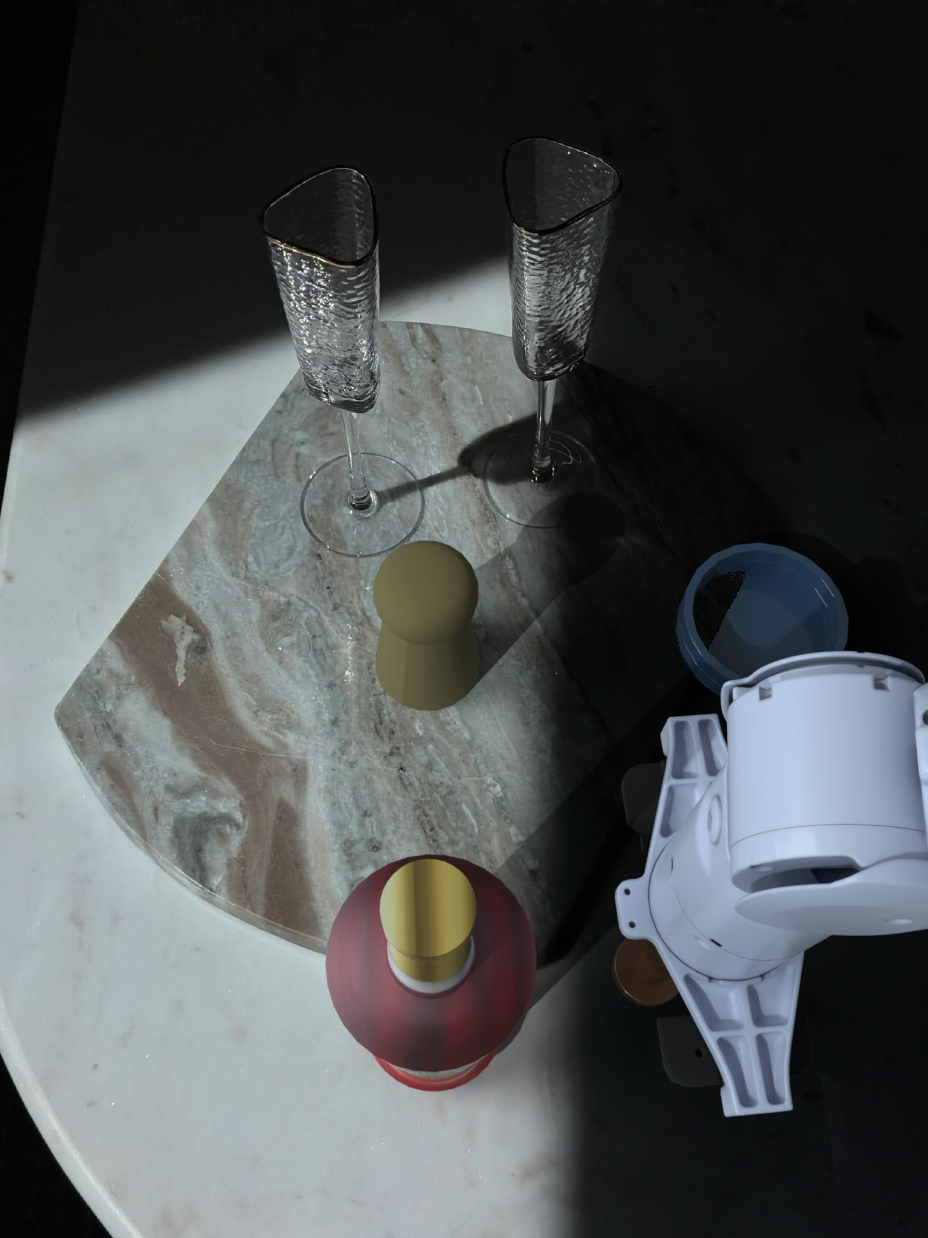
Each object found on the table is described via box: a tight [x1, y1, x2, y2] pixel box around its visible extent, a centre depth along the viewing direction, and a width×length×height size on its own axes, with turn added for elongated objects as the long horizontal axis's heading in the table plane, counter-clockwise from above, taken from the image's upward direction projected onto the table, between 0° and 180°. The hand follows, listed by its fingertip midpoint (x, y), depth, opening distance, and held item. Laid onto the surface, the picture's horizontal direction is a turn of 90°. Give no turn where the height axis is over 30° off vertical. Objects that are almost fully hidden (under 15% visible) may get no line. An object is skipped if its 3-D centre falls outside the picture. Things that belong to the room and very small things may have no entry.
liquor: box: [325, 853, 537, 1093], centre depth 44 cm, size 7×7×28 cm
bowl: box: [675, 542, 849, 697], centre depth 65 cm, size 9×9×3 cm
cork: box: [372, 539, 481, 712], centre depth 60 cm, size 6×6×11 cm
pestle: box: [611, 937, 680, 1008], centre depth 54 cm, size 4×4×10 cm
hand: (680, 942), depth 51 cm, fingers open, 7 cm apart
